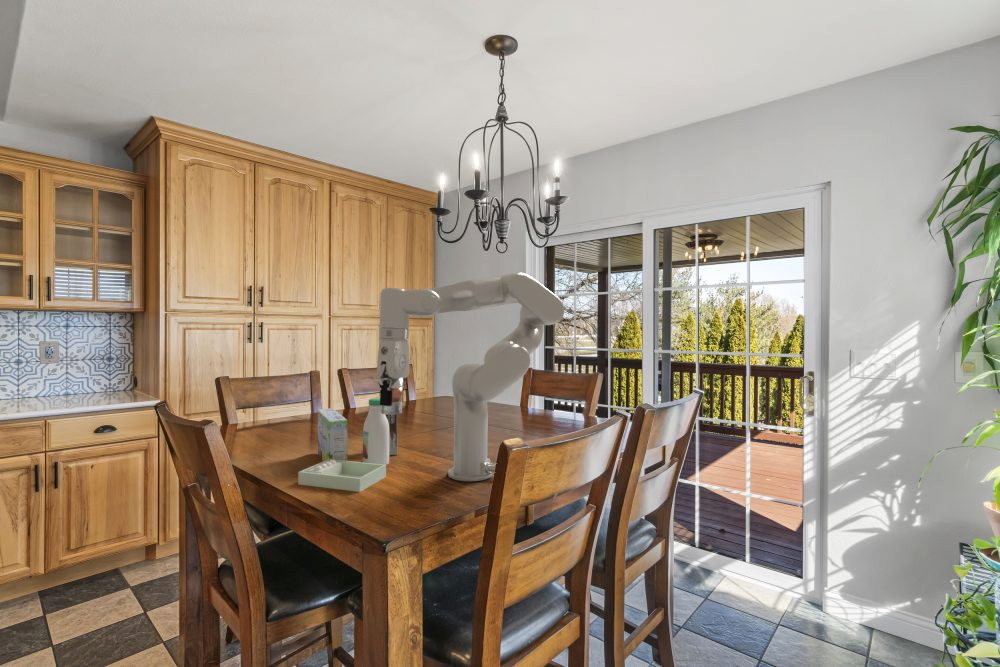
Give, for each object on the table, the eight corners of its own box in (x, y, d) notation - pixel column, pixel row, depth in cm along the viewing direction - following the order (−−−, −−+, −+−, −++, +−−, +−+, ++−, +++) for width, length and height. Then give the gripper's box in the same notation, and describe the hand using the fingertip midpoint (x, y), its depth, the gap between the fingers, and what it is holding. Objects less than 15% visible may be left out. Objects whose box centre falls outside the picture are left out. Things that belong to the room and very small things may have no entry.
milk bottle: (392, 462, 152) (393, 397, 151) (384, 469, 144) (384, 401, 144) (368, 461, 152) (368, 396, 152) (358, 468, 145) (359, 400, 144)
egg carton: (341, 474, 136) (341, 459, 136) (321, 484, 128) (321, 467, 128) (329, 472, 138) (329, 457, 137) (308, 482, 129) (308, 466, 129)
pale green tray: (385, 479, 135) (386, 464, 135) (359, 494, 122) (359, 478, 122) (329, 473, 140) (329, 459, 140) (298, 487, 127) (298, 471, 127)
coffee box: (397, 450, 166) (397, 402, 166) (397, 455, 160) (397, 406, 159) (369, 451, 164) (369, 403, 164) (367, 456, 158) (368, 406, 158)
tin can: (405, 412, 132) (406, 374, 132) (396, 415, 127) (397, 376, 126) (387, 410, 133) (388, 373, 133) (376, 413, 128) (377, 375, 128)
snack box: (316, 456, 158) (316, 409, 158) (334, 453, 161) (334, 407, 160) (328, 473, 140) (329, 420, 139) (349, 471, 142) (349, 419, 142)
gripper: (391, 335, 120) (388, 409, 121) (420, 335, 137) (418, 400, 137) (363, 334, 122) (361, 407, 123) (396, 334, 139) (394, 398, 139)
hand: (391, 403), depth 130 cm, fingers closed on tin can, 5 cm apart
